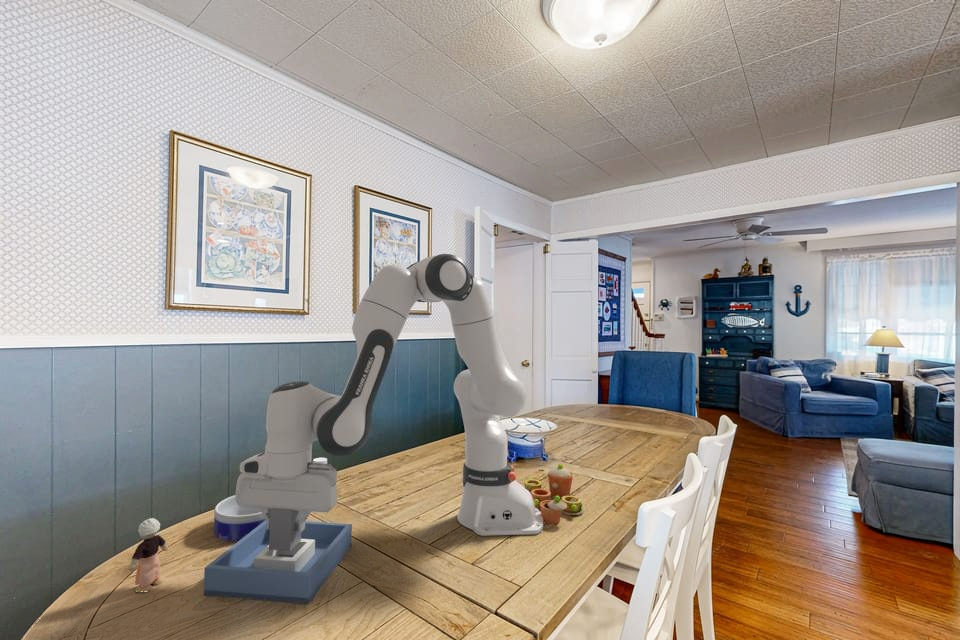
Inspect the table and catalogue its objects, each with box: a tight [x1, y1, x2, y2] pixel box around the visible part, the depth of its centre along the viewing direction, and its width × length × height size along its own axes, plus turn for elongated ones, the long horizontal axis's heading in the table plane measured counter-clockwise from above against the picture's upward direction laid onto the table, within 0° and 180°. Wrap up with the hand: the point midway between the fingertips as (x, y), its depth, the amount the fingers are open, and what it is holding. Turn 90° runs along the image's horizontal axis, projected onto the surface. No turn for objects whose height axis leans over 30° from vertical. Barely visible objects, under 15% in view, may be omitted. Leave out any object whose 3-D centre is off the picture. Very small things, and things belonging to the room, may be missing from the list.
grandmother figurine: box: [128, 517, 169, 592], centre depth 80 cm, size 8×4×13 cm, turn 5°
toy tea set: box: [523, 463, 584, 525], centre depth 122 cm, size 26×16×10 cm, turn 7°
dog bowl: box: [213, 494, 265, 542], centre depth 104 cm, size 15×15×6 cm
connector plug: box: [269, 508, 303, 551], centre depth 87 cm, size 4×4×9 cm
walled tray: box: [203, 520, 353, 605], centre depth 87 cm, size 20×20×5 cm
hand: (285, 529), depth 87 cm, fingers closed on connector plug, 4 cm apart
